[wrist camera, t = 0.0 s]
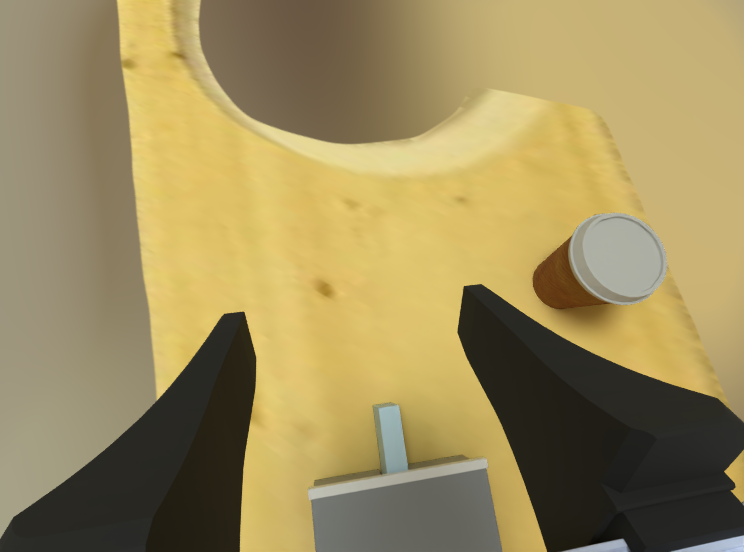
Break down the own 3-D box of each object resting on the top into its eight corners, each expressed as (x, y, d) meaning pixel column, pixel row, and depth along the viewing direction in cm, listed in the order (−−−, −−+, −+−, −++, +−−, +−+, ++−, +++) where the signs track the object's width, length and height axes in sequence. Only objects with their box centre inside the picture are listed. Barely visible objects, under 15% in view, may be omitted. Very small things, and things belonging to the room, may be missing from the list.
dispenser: (484, 570, 40) (515, 607, 33) (324, 604, 38) (322, 652, 31) (462, 446, 43) (486, 458, 36) (312, 472, 41) (308, 489, 34)
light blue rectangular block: (411, 546, 40) (423, 571, 34) (392, 550, 39) (401, 576, 34) (390, 402, 43) (398, 405, 38) (372, 405, 43) (378, 408, 37)
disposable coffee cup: (532, 236, 50) (591, 193, 39) (600, 266, 50) (679, 232, 39) (510, 302, 48) (566, 276, 36) (582, 334, 48) (662, 318, 36)
